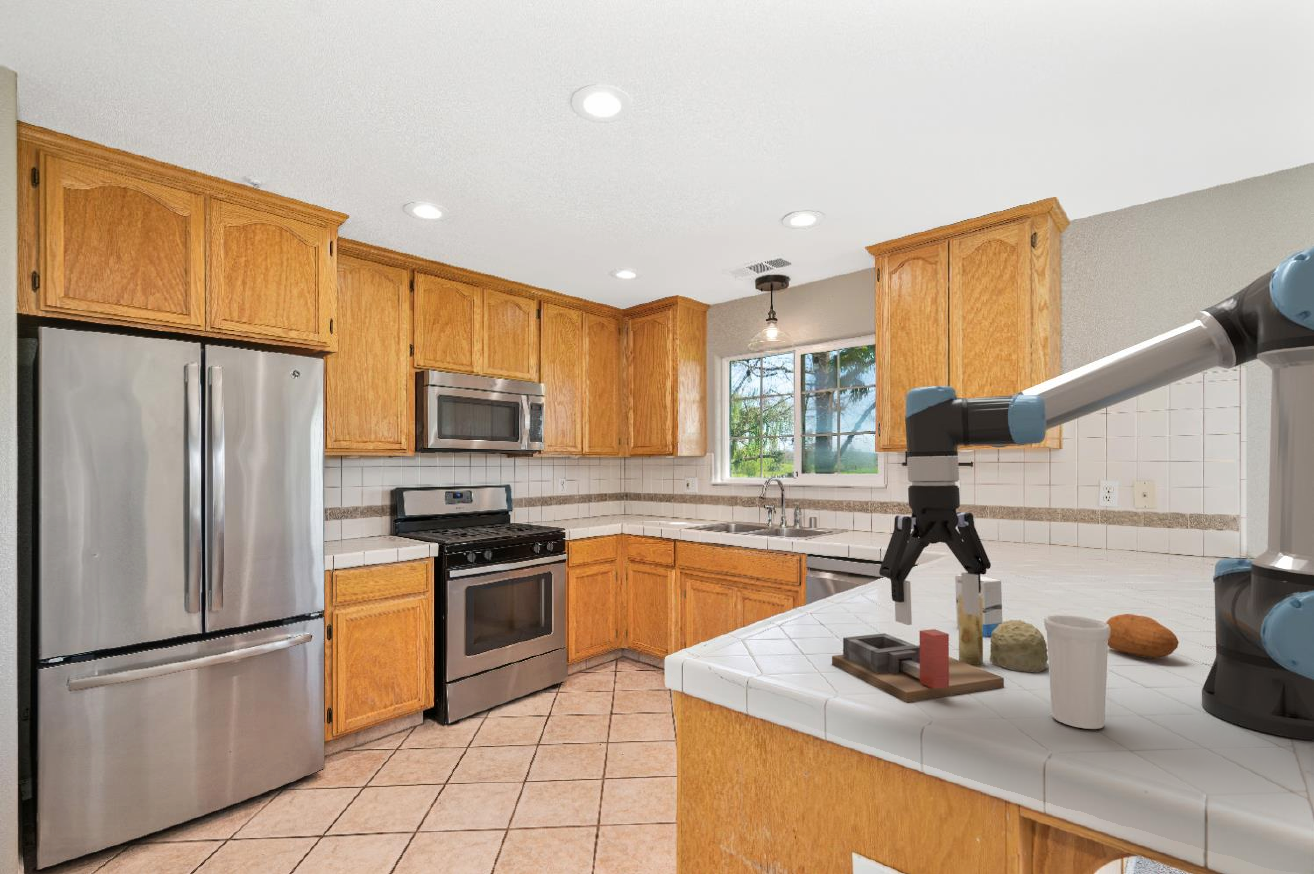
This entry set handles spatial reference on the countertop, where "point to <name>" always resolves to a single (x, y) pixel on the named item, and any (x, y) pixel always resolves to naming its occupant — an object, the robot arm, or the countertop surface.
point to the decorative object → (1018, 647)
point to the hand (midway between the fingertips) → (938, 618)
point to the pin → (930, 660)
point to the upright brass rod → (970, 635)
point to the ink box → (986, 602)
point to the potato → (1140, 636)
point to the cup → (1077, 669)
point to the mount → (880, 668)
